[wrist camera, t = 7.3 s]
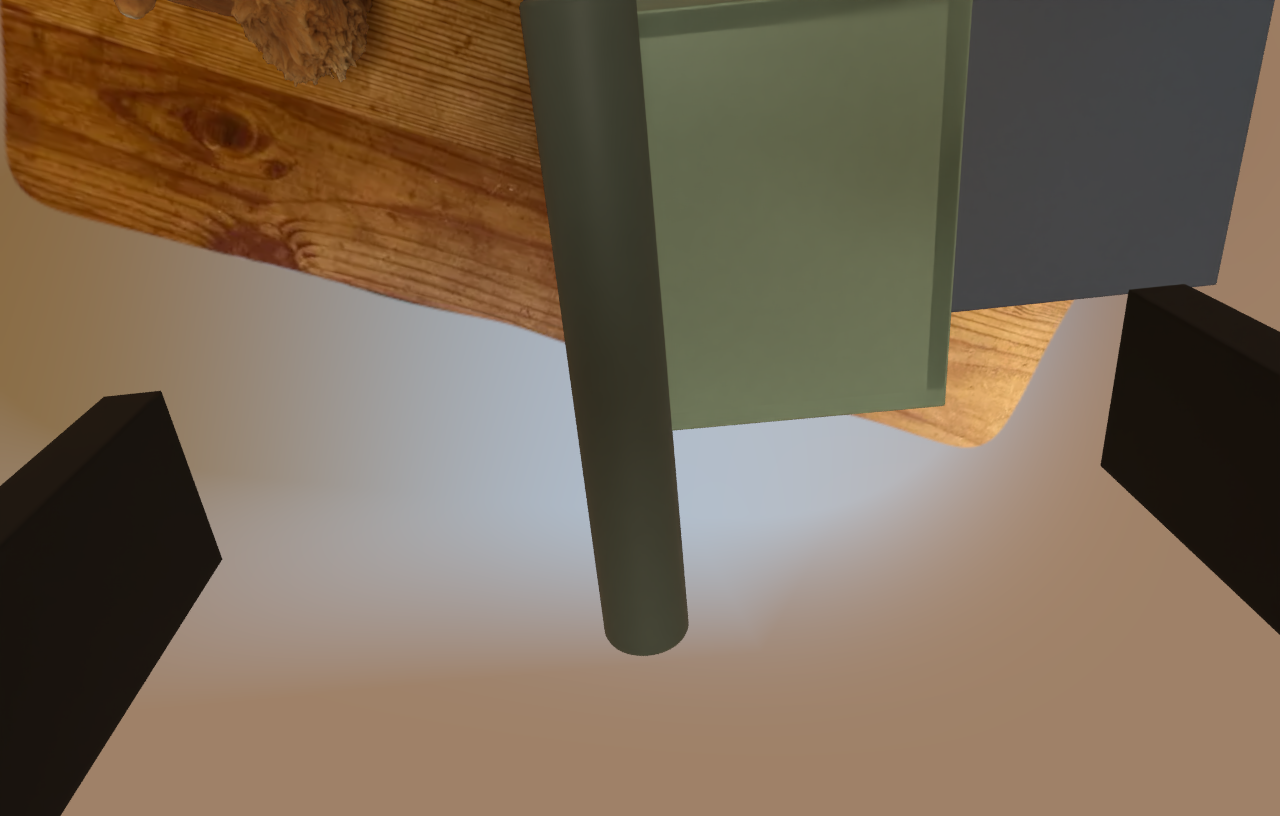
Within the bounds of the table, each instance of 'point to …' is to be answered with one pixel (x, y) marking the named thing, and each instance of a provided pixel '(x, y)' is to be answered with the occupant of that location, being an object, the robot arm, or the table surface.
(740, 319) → the basket
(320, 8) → the stuffed squirrel
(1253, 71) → the gray rectangular block
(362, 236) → the table surface
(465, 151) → the table surface
